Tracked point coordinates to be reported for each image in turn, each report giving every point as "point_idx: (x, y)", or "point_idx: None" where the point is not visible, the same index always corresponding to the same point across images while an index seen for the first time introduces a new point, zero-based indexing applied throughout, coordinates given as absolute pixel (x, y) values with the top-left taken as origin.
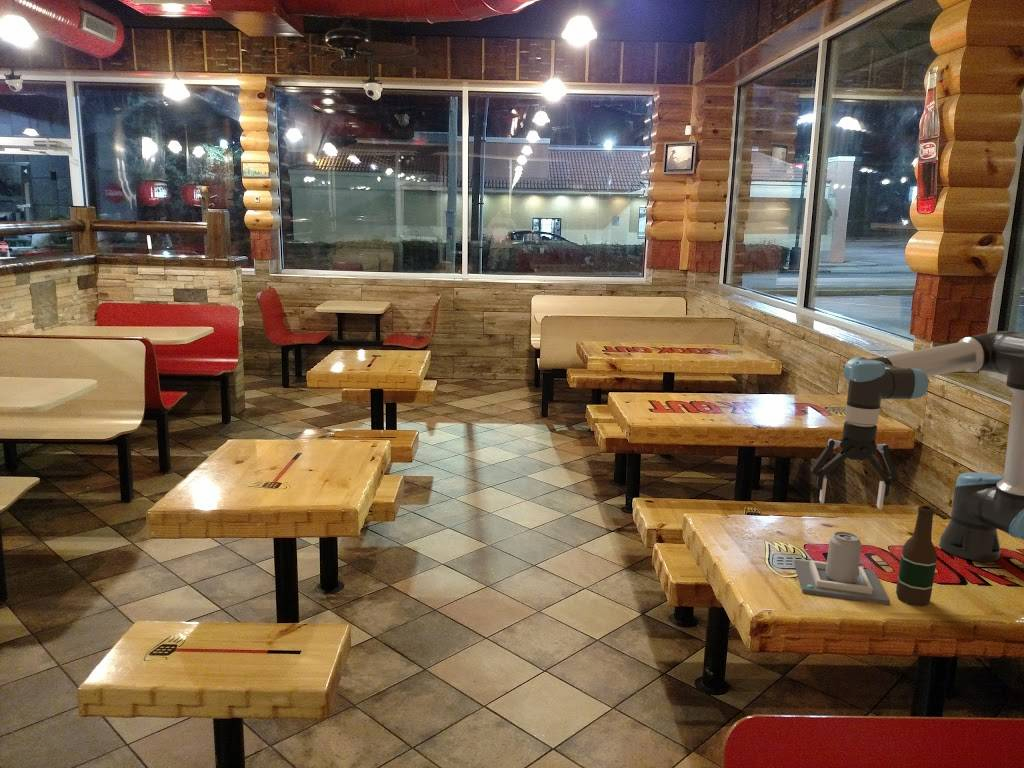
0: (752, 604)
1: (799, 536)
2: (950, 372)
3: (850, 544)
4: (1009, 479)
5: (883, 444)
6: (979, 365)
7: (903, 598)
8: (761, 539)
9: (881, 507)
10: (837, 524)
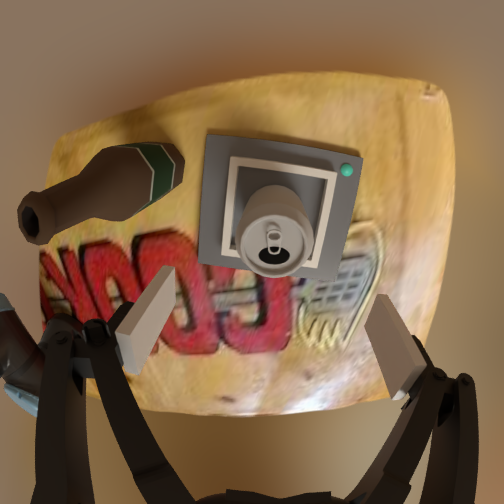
0: (445, 113)
1: (281, 370)
2: None
3: (274, 209)
4: None
5: None
6: None
7: (177, 152)
8: (347, 352)
9: (163, 270)
10: (212, 401)
